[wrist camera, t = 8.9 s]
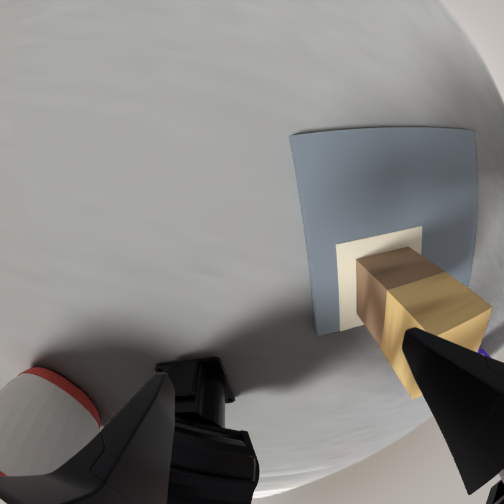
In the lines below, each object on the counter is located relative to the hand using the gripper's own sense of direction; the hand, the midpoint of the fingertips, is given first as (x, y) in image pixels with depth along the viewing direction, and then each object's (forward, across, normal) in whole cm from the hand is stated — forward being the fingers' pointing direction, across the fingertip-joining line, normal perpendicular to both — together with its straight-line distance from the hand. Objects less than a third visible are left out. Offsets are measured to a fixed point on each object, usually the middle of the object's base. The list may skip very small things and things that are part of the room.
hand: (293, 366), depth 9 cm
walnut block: (+11, -10, +4) cm, 15 cm away
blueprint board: (+12, -12, 0) cm, 17 cm away
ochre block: (+6, -10, +4) cm, 12 cm away
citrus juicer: (+12, +28, +17) cm, 35 cm away
